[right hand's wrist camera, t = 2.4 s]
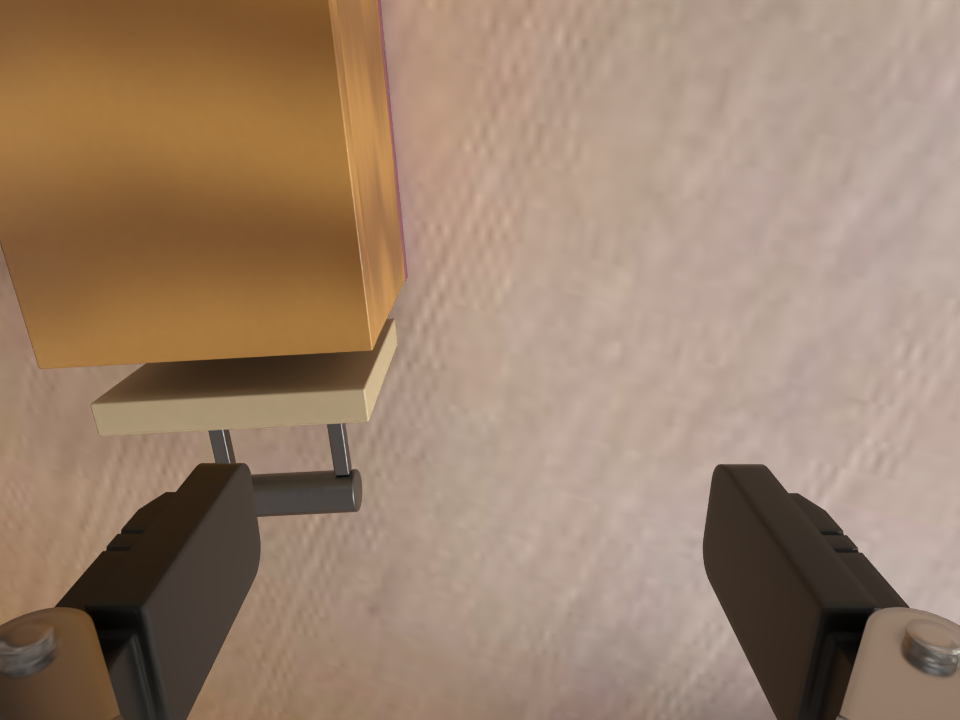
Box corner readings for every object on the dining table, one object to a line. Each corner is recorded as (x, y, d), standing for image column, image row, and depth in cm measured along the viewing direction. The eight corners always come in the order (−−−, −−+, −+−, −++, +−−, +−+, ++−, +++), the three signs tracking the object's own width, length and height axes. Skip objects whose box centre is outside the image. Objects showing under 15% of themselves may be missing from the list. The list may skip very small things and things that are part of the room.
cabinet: (407, 276, 29) (373, 351, 20) (178, 290, 29) (38, 369, 20) (355, -250, 23) (269, -503, 14) (63, -228, 23) (-220, -462, 14)
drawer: (410, 459, 31) (387, 567, 24) (221, 469, 31) (139, 579, 24) (347, -120, 23) (284, -233, 16) (95, -102, 24) (-86, -206, 16)
